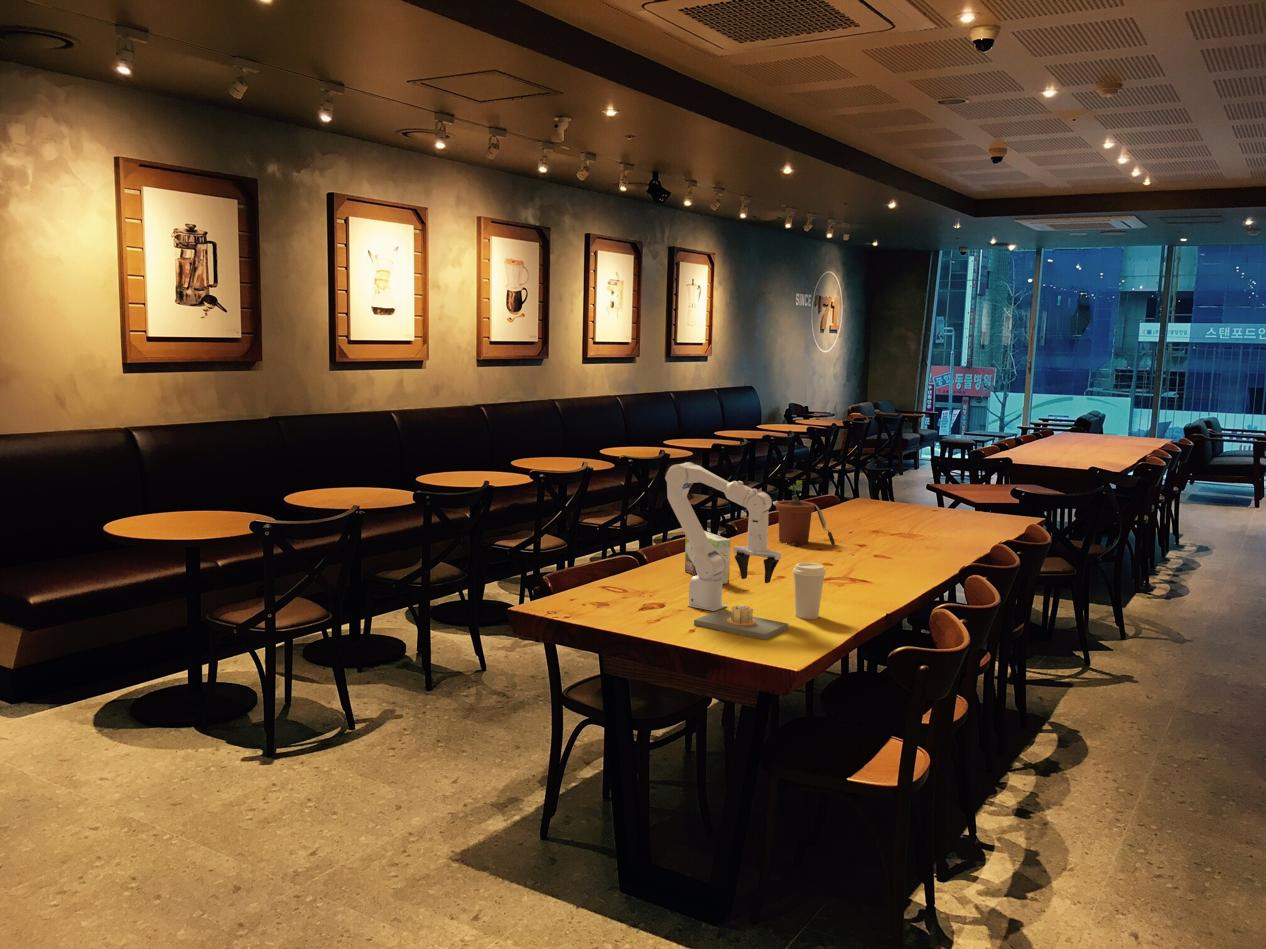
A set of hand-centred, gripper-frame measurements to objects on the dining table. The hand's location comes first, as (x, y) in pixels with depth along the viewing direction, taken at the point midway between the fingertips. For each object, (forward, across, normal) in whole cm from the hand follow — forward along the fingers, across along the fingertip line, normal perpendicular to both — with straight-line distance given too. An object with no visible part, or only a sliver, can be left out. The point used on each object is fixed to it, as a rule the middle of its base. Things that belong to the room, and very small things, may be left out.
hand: (755, 580), depth 293 cm
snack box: (+10, -35, +31) cm, 48 cm away
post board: (+10, +4, -15) cm, 18 cm away
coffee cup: (+10, +13, +8) cm, 18 cm away
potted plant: (+10, -39, +110) cm, 117 cm away
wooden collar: (+8, +4, -15) cm, 17 cm away
